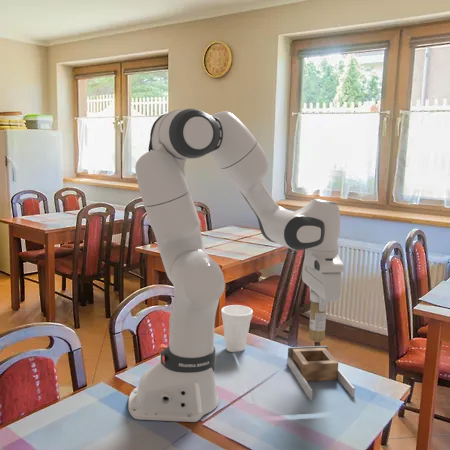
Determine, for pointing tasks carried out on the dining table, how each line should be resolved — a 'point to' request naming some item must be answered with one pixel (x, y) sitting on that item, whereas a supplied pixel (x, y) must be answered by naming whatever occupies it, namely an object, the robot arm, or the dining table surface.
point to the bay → (303, 382)
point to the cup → (236, 326)
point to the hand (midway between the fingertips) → (317, 306)
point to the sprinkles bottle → (316, 320)
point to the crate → (315, 364)
